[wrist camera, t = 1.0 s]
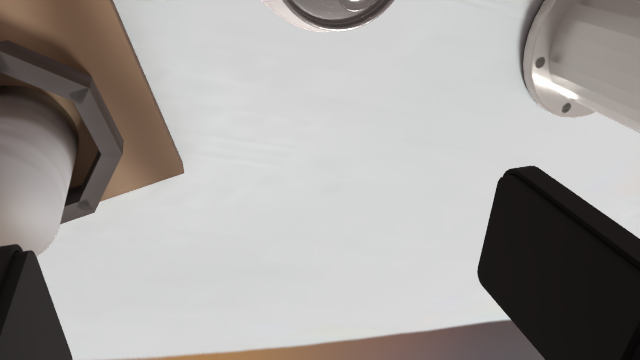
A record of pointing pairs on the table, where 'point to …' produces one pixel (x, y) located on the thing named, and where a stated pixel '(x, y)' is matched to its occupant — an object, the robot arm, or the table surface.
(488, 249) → the robot arm
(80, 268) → the table surface
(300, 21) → the can
